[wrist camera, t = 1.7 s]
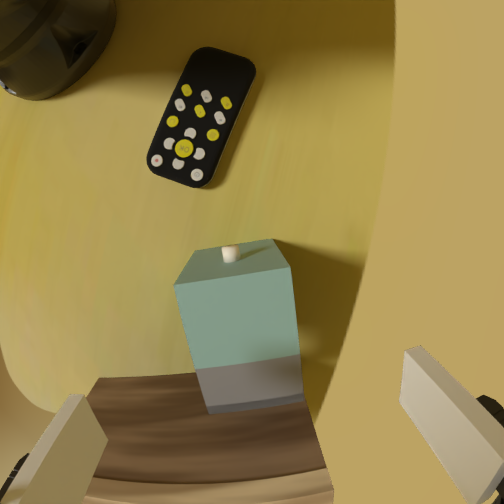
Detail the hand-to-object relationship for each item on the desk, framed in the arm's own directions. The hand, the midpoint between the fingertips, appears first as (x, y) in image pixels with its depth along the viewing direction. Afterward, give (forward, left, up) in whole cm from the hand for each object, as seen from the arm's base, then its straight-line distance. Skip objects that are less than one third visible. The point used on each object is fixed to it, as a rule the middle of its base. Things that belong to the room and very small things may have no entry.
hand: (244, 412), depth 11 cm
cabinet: (+1, 0, -18) cm, 18 cm away
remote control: (-15, -1, -19) cm, 24 cm away
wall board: (+11, -7, -18) cm, 22 cm away
